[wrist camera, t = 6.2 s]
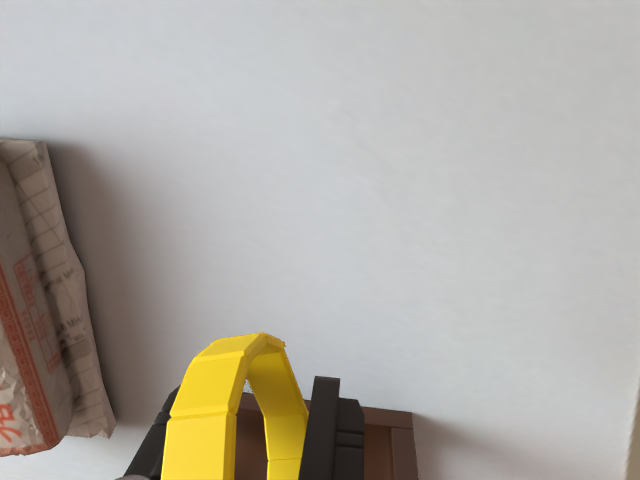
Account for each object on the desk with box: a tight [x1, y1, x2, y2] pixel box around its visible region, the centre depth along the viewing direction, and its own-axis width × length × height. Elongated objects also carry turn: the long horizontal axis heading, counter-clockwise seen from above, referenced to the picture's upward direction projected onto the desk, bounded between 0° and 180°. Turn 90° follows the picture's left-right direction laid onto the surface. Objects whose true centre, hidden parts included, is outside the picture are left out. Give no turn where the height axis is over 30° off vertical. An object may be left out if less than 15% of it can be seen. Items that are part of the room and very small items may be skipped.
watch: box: [161, 332, 309, 480], centre depth 10 cm, size 6×3×6 cm, turn 13°
